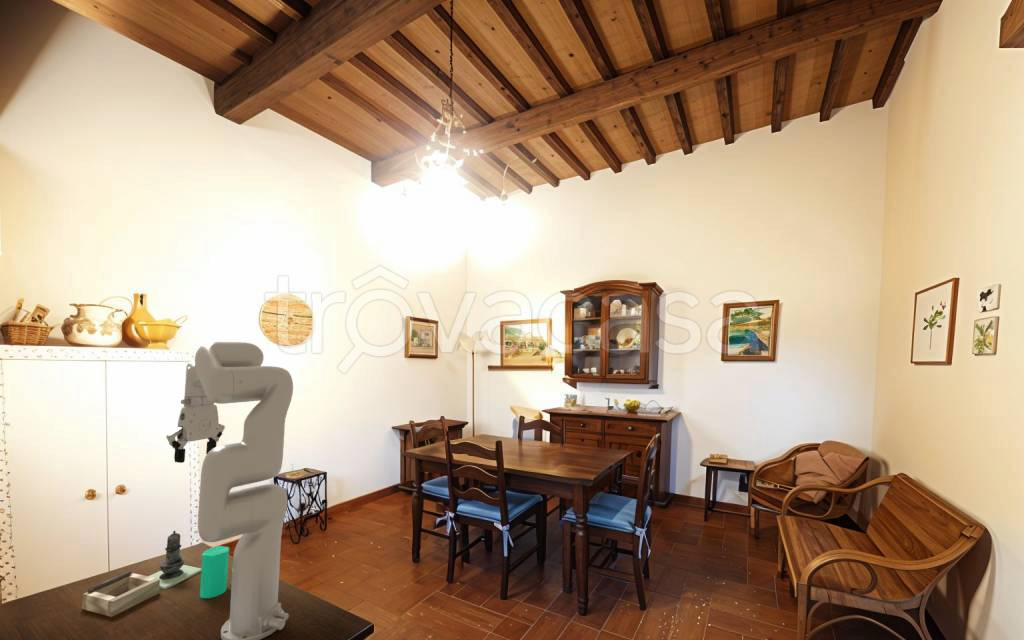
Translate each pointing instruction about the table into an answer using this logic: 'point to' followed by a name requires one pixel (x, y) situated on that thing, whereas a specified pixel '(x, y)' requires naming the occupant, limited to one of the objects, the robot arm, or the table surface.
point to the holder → (104, 593)
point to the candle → (214, 572)
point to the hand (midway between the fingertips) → (195, 458)
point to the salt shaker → (172, 558)
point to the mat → (187, 573)
